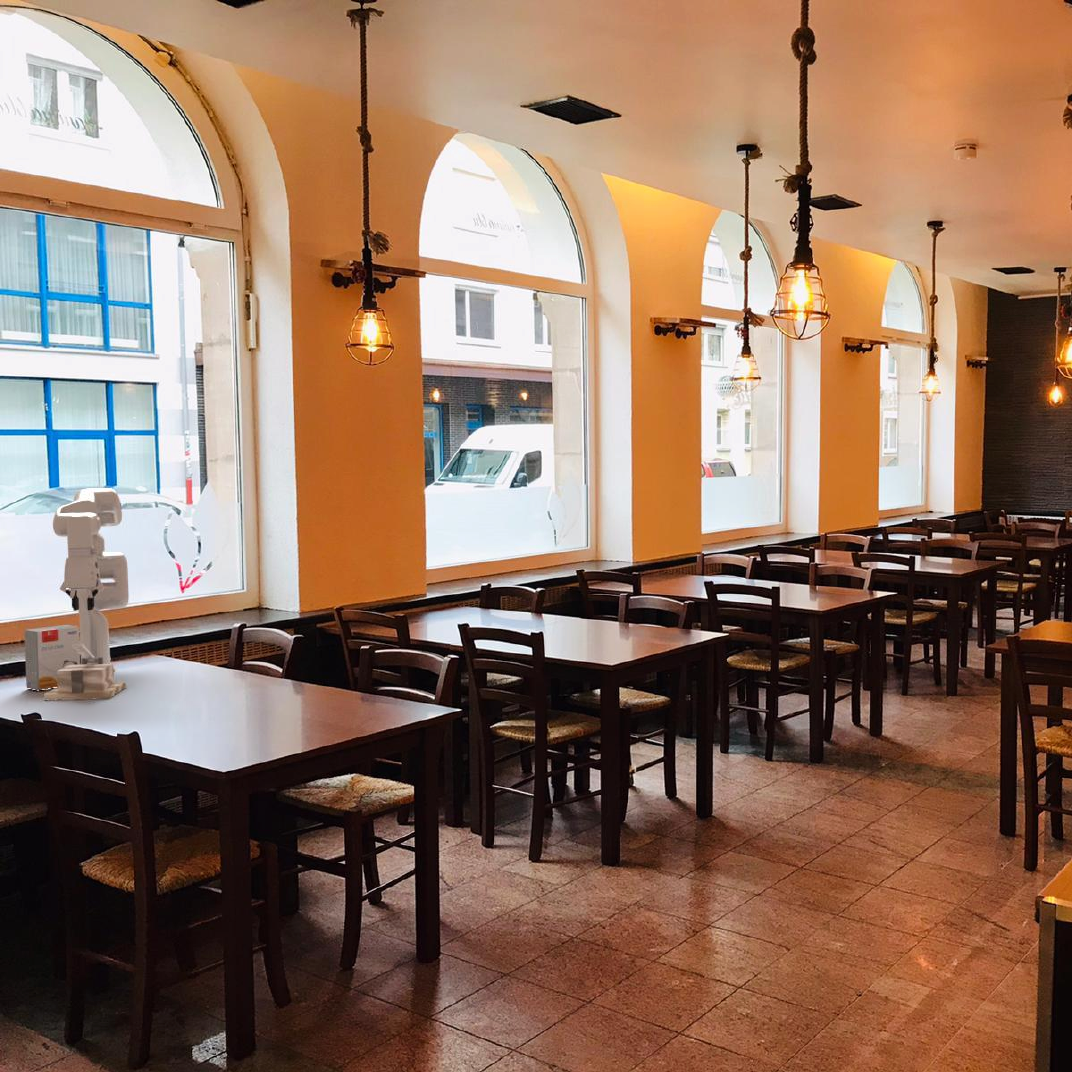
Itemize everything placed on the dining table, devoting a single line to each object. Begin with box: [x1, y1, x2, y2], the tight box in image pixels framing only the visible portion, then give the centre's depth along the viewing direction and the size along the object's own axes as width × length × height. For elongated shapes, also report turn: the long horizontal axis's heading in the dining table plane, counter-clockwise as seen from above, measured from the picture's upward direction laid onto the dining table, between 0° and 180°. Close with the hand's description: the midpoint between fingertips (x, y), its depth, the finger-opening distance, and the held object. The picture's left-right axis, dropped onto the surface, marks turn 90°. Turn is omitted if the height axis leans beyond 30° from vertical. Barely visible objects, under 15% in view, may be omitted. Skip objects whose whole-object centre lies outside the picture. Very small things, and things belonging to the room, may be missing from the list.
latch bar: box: [72, 643, 98, 663], centre depth 364 cm, size 16×3×1 cm, turn 2°
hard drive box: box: [23, 624, 81, 690], centre depth 376 cm, size 16×8×20 cm, turn 143°
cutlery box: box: [43, 657, 127, 701], centre depth 364 cm, size 17×20×10 cm
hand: (83, 609), depth 363 cm, fingers open, 3 cm apart
